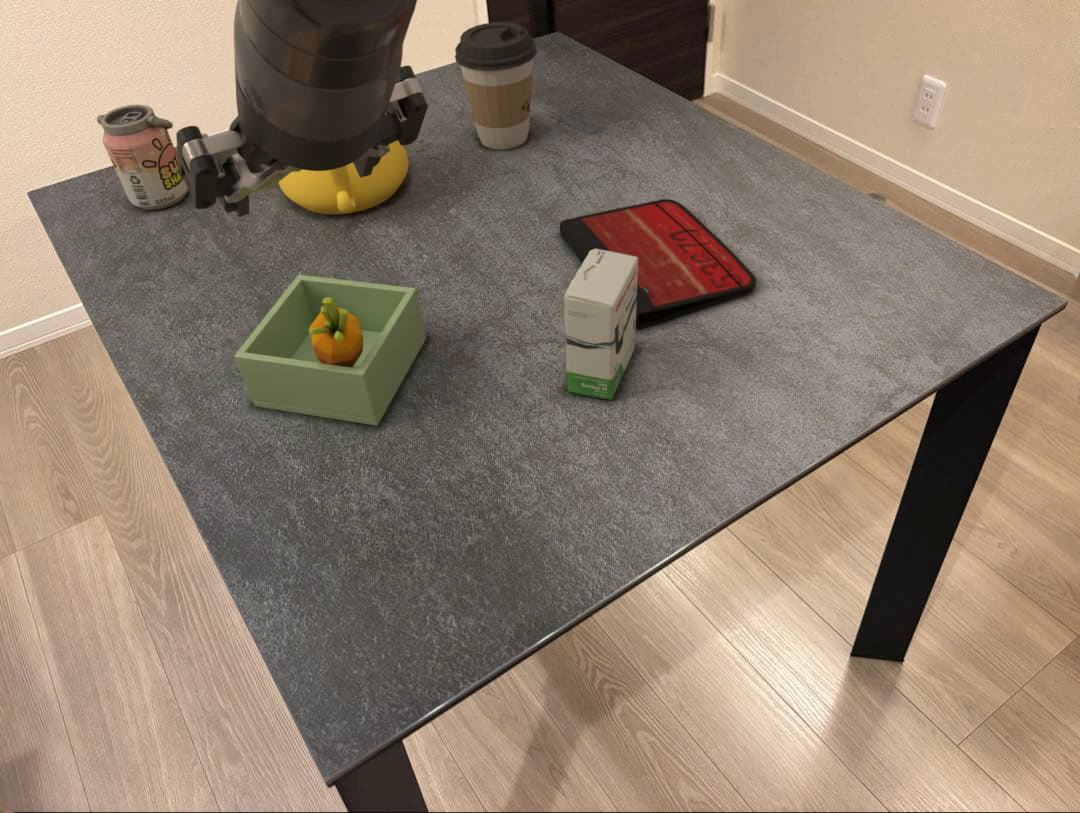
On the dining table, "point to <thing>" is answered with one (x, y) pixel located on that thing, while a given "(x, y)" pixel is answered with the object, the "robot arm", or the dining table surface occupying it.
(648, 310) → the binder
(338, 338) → the carrot
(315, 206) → the teapot
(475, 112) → the coffee cup
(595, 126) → the dining table surface
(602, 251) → the ink box
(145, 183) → the beverage can
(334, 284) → the bin
